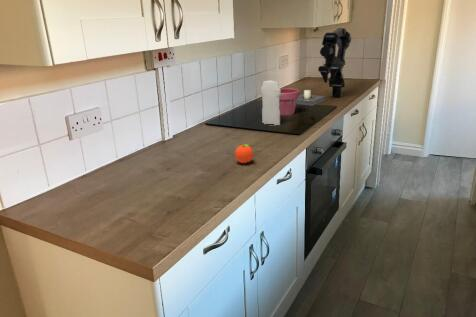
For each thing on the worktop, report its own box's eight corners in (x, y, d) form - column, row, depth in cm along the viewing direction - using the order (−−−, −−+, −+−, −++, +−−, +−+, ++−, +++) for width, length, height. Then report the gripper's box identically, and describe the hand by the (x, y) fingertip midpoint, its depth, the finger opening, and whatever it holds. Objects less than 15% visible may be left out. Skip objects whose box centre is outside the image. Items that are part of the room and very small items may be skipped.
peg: (305, 100, 248) (306, 89, 245) (311, 101, 245) (311, 90, 243) (302, 102, 245) (302, 90, 242) (308, 102, 243) (308, 91, 240)
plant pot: (286, 109, 230) (286, 86, 225) (304, 113, 219) (304, 90, 214) (267, 113, 222) (267, 90, 217) (284, 118, 211) (284, 94, 207)
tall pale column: (282, 124, 201) (282, 80, 193) (279, 126, 197) (278, 81, 190) (263, 122, 206) (262, 79, 198) (259, 124, 202) (258, 80, 194)
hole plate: (302, 97, 256) (302, 93, 255) (325, 100, 246) (325, 96, 245) (289, 102, 244) (289, 98, 243) (312, 105, 235) (312, 101, 234)
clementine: (244, 157, 158) (244, 140, 156) (258, 160, 154) (258, 143, 152) (231, 163, 153) (230, 145, 150) (246, 167, 148) (245, 149, 146)
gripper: (336, 57, 223) (335, 85, 228) (350, 53, 236) (348, 80, 242) (318, 56, 229) (317, 83, 235) (332, 53, 243) (331, 78, 248)
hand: (329, 81), depth 240 cm, fingers open, 9 cm apart
